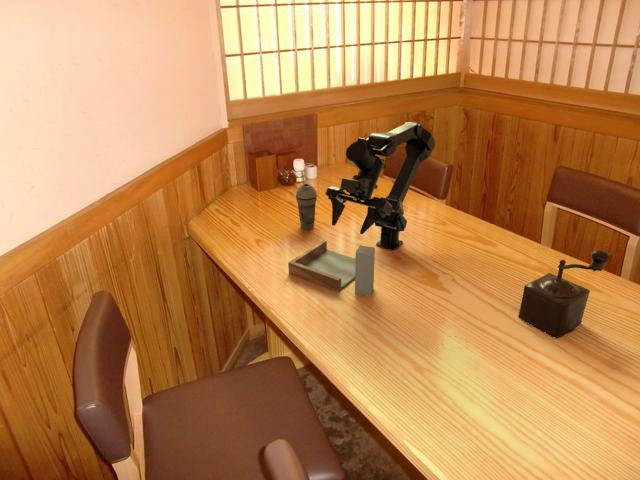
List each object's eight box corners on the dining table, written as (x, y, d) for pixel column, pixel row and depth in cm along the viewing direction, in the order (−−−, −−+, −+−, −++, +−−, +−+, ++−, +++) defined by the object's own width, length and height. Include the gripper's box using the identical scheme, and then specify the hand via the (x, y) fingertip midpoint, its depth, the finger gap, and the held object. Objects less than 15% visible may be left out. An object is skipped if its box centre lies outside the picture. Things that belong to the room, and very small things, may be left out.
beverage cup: (315, 232, 158) (314, 176, 149) (294, 230, 159) (292, 175, 151) (319, 223, 164) (318, 169, 156) (299, 222, 166) (297, 168, 157)
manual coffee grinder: (559, 341, 105) (577, 272, 97) (516, 317, 113) (530, 252, 105) (596, 317, 112) (616, 251, 104) (553, 296, 120) (569, 234, 112)
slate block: (359, 285, 127) (360, 245, 121) (373, 288, 126) (374, 247, 120) (354, 293, 124) (355, 252, 118) (369, 296, 122) (370, 254, 117)
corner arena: (323, 250, 146) (323, 240, 145) (371, 265, 137) (371, 254, 135) (288, 273, 134) (288, 262, 132) (338, 291, 125) (338, 280, 123)
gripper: (326, 158, 126) (304, 211, 124) (386, 171, 115) (363, 228, 114) (344, 175, 135) (324, 224, 133) (401, 188, 124) (380, 241, 123)
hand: (346, 229), depth 126 cm, fingers open, 9 cm apart
